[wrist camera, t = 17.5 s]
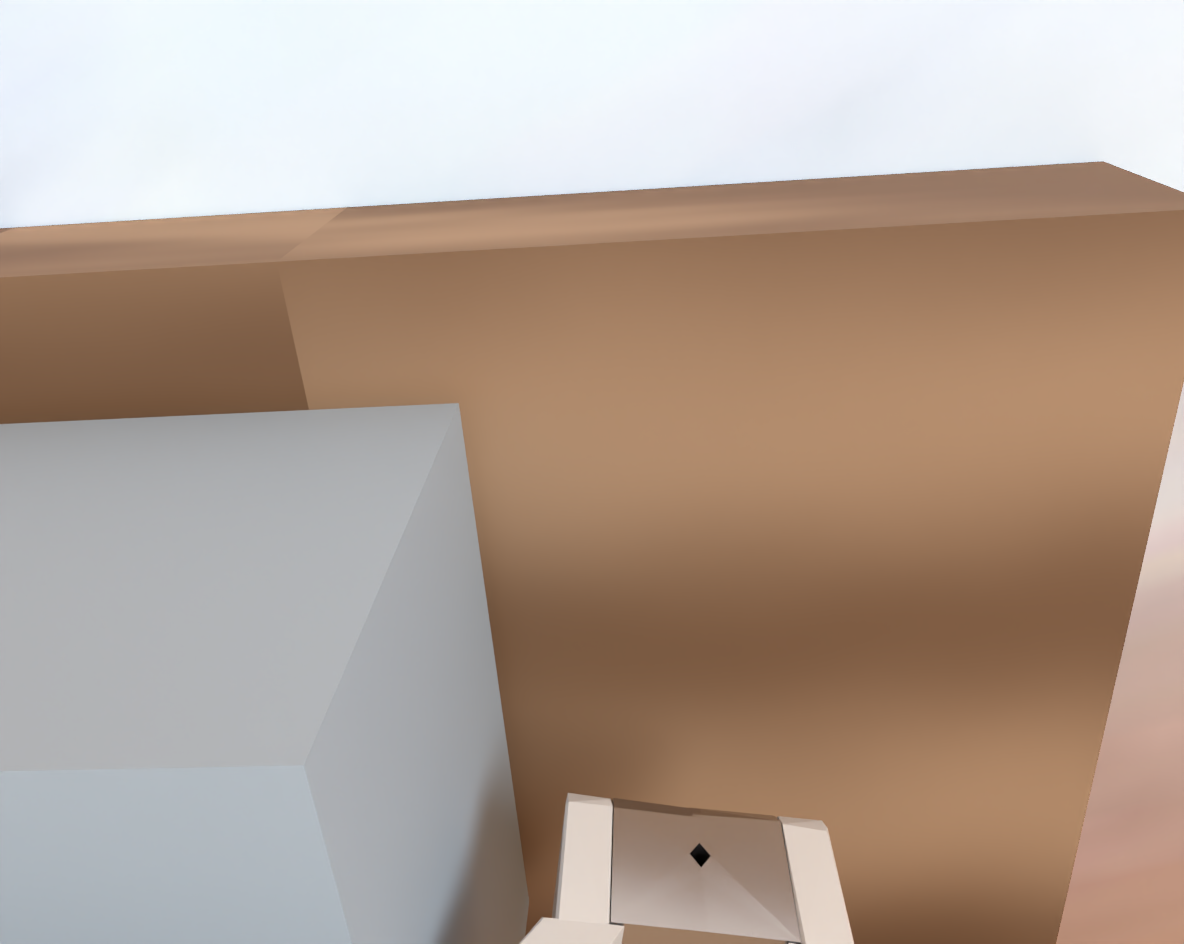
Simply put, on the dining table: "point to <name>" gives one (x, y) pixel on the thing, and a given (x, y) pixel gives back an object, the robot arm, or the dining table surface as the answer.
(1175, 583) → the dining table surface
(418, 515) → the housing cap
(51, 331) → the socket block
